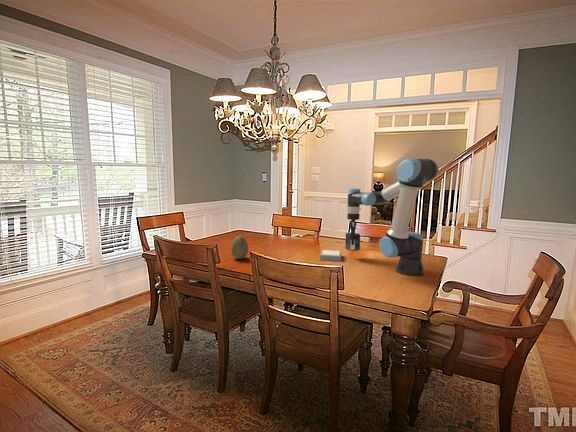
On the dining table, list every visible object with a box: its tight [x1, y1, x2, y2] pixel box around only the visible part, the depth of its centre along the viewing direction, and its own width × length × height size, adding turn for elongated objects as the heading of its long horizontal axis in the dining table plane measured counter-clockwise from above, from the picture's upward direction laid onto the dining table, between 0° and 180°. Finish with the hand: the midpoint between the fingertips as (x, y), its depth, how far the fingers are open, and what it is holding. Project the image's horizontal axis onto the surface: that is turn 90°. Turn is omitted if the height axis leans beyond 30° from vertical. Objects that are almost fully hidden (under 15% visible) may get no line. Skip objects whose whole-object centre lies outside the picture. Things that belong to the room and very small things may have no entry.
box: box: [345, 232, 361, 252], centre depth 213 cm, size 8×6×11 cm
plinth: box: [319, 249, 342, 262], centre depth 216 cm, size 13×13×3 cm
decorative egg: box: [230, 235, 249, 260], centre depth 209 cm, size 11×11×15 cm
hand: (352, 247), depth 213 cm, fingers closed on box, 9 cm apart
